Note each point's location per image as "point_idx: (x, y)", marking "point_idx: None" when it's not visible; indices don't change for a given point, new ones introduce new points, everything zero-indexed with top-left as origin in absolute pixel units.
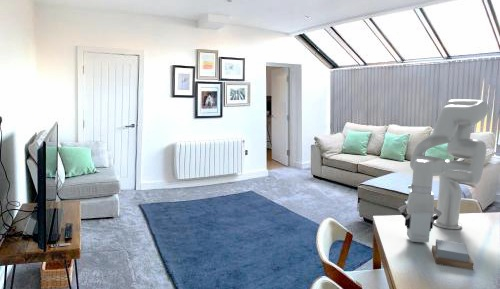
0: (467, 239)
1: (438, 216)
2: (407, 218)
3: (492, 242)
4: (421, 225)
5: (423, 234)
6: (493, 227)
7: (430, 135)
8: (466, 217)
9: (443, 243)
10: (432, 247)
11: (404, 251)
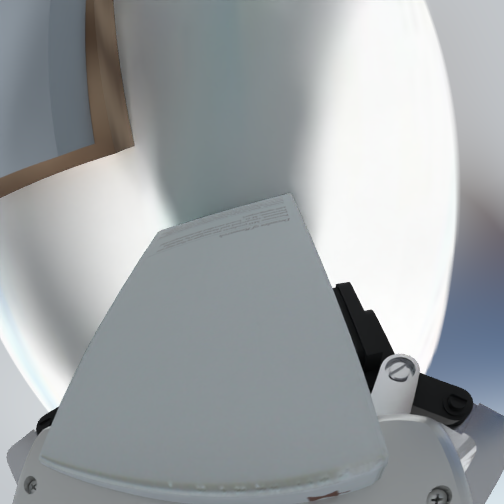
0: (62, 366)
1: (35, 434)
2: (387, 372)
3: (16, 360)
4: (189, 300)
5: (182, 247)
6: None
7: None
8: None
9: (12, 96)
10: (118, 138)
11: (321, 28)
